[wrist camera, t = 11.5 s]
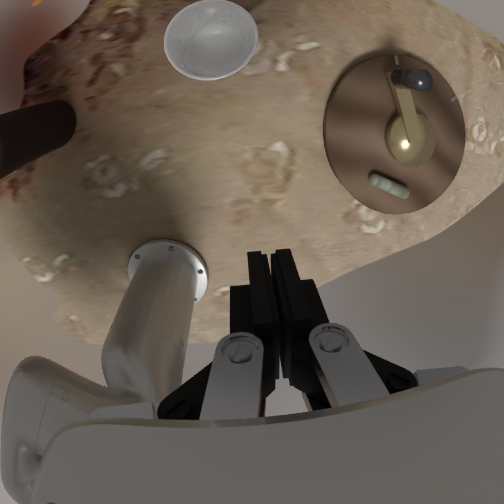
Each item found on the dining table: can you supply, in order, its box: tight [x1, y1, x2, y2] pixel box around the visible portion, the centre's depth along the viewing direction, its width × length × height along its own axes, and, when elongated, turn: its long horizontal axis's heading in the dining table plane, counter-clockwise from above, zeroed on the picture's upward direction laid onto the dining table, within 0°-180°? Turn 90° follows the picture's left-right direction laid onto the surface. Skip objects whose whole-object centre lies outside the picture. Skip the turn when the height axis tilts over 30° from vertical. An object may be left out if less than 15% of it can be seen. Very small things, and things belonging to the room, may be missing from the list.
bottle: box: [0, 100, 76, 179], centre depth 21 cm, size 7×7×20 cm
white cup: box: [164, 0, 258, 80], centre depth 23 cm, size 8×8×10 cm
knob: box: [385, 69, 436, 167], centre depth 26 cm, size 13×7×7 cm, turn 24°
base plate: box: [323, 55, 465, 214], centre depth 31 cm, size 22×22×4 cm
